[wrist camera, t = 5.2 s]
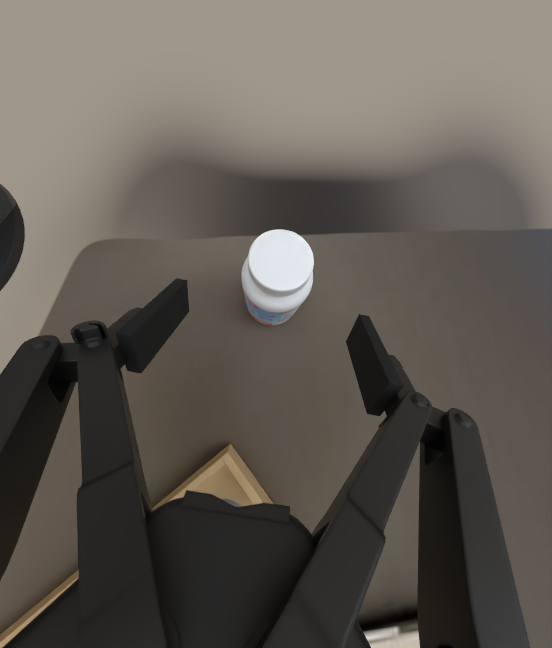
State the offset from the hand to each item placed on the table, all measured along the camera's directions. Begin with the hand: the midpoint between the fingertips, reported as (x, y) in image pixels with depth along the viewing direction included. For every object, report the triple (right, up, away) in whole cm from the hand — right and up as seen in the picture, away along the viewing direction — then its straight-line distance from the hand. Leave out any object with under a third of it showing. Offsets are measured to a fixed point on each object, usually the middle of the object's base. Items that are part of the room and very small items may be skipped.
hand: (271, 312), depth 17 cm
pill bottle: (0, +2, +9) cm, 10 cm away
